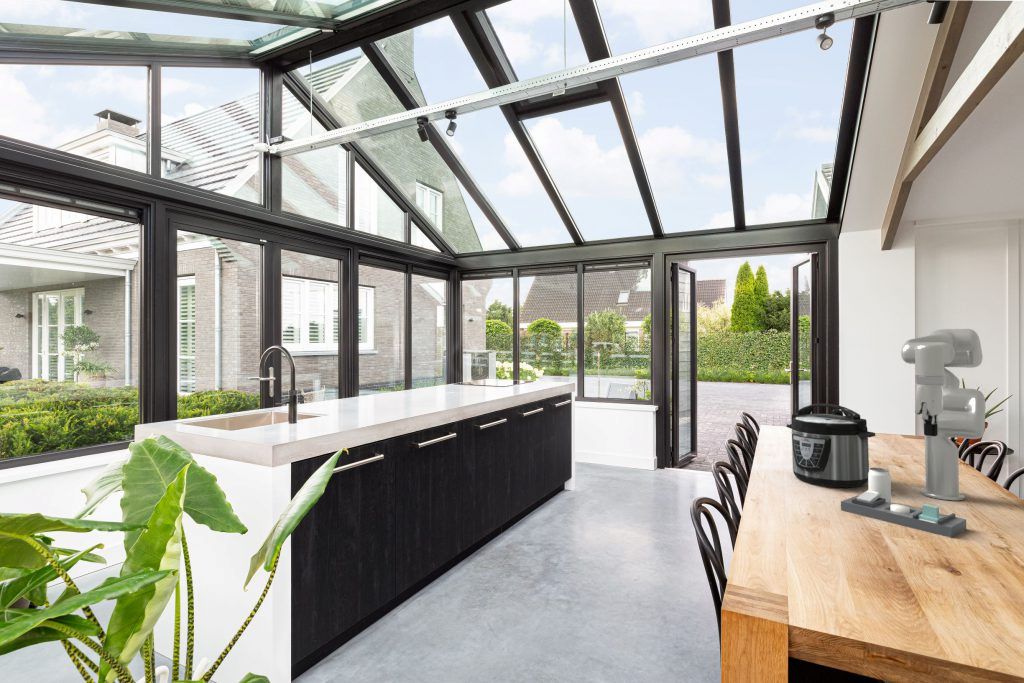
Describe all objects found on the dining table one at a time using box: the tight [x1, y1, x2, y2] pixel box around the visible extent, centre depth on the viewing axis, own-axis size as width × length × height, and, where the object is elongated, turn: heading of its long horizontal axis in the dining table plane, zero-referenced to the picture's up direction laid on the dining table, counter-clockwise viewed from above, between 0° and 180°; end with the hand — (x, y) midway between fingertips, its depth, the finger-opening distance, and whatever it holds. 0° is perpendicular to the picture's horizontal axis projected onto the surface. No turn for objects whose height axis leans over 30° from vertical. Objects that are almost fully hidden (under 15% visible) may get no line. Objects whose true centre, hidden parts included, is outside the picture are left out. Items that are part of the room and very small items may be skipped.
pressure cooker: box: [786, 403, 876, 488], centre depth 213 cm, size 30×28×32 cm
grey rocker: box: [856, 489, 881, 503], centre depth 174 cm, size 8×4×1 cm, turn 123°
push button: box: [890, 503, 910, 515], centre depth 166 cm, size 5×5×4 cm
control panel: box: [840, 495, 967, 539], centre depth 166 cm, size 12×30×4 cm, turn 33°
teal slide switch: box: [919, 503, 943, 523], centre depth 157 cm, size 4×5×4 cm
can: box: [867, 467, 892, 503], centre depth 183 cm, size 6×6×12 cm
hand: (930, 435), depth 172 cm, fingers closed
